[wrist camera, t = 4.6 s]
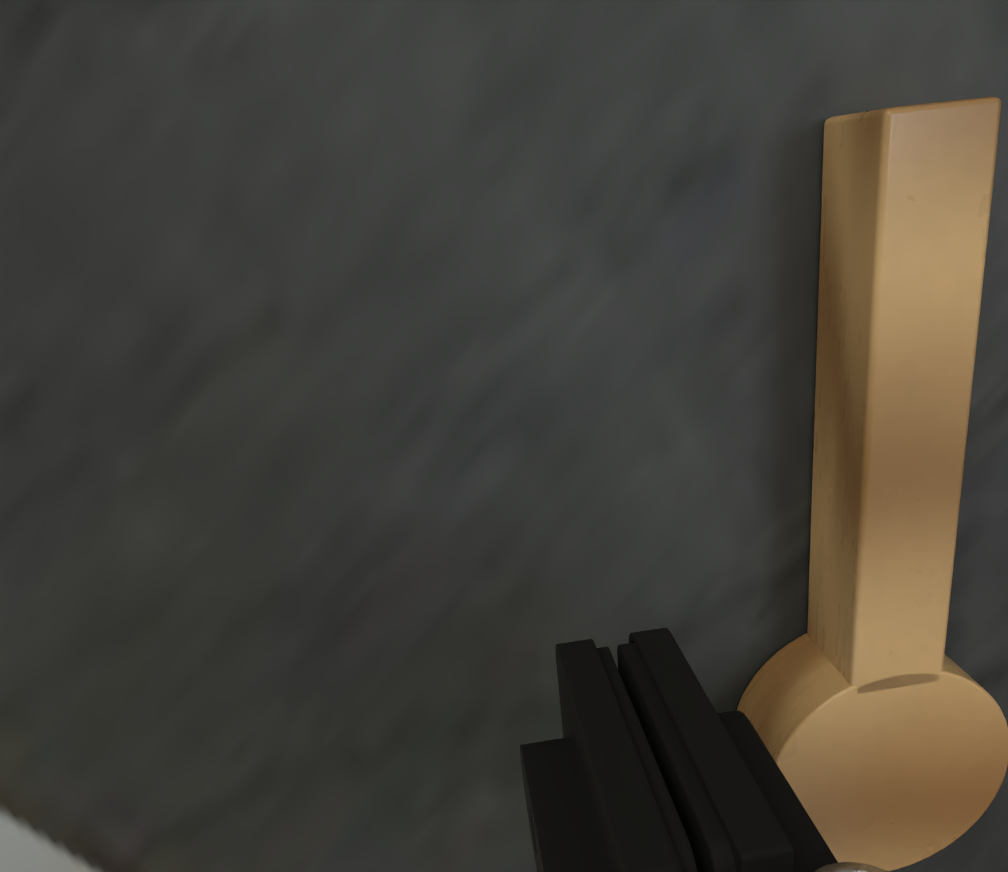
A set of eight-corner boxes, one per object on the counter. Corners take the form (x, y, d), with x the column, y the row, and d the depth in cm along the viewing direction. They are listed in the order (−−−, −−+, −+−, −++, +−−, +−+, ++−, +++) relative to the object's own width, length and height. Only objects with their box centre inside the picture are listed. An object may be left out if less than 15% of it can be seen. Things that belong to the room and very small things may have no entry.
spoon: (727, 128, 11) (777, 119, 9) (1016, 97, 11) (1109, 83, 10) (731, 823, 15) (766, 894, 14) (940, 788, 15) (996, 853, 14)
